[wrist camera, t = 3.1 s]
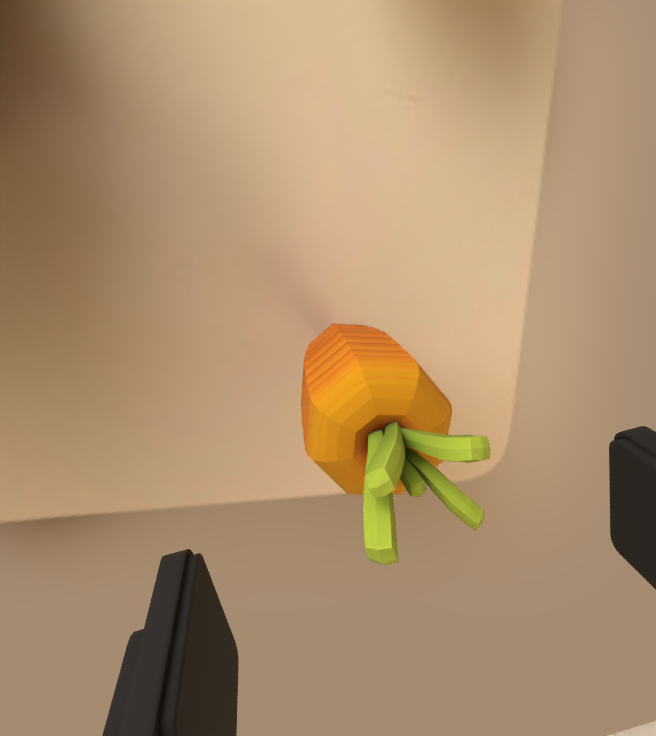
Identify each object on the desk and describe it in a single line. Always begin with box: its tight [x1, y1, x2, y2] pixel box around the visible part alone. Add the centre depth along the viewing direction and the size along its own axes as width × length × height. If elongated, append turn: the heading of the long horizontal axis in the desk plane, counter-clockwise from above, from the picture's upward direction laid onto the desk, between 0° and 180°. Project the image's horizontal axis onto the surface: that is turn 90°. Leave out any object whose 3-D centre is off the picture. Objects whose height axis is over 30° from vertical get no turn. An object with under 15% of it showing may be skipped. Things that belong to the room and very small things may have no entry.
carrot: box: [301, 324, 491, 565], centre depth 19 cm, size 5×5×15 cm
